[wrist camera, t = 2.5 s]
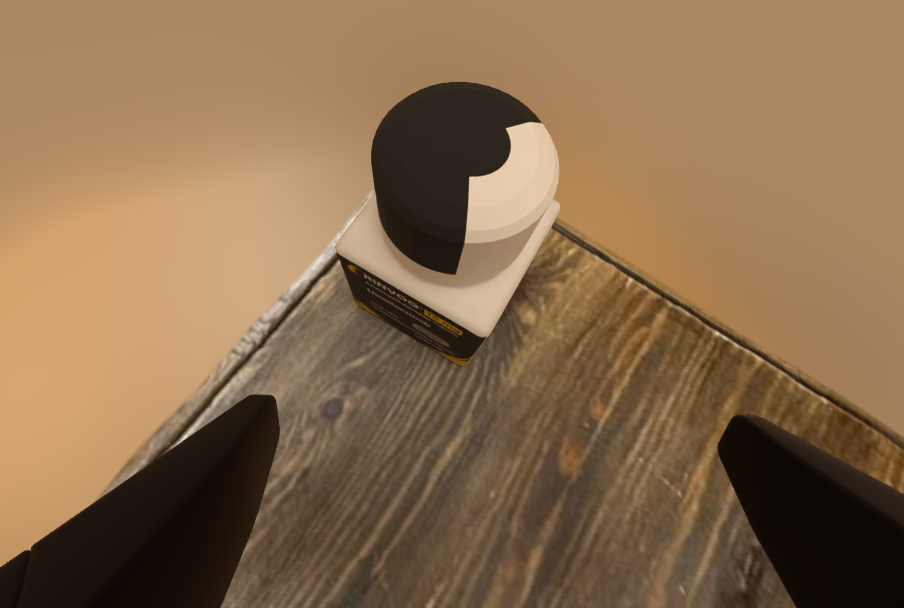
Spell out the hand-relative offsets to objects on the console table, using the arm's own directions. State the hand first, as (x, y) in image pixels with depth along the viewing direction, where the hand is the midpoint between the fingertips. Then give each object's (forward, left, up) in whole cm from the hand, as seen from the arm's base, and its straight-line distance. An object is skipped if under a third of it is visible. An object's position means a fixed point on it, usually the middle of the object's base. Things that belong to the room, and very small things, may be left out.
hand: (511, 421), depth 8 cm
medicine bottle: (+5, +6, -14) cm, 16 cm away
